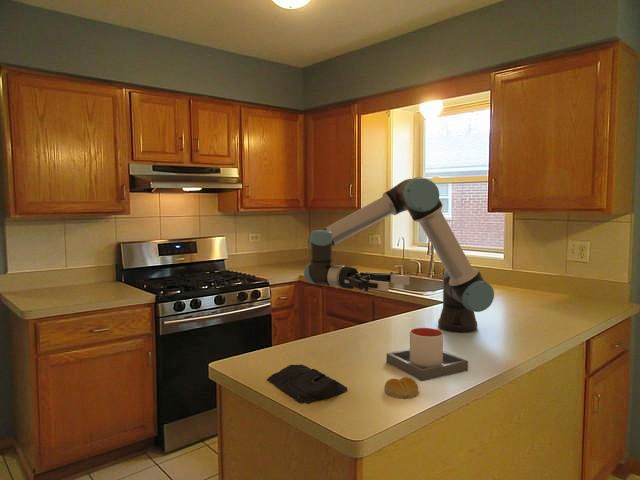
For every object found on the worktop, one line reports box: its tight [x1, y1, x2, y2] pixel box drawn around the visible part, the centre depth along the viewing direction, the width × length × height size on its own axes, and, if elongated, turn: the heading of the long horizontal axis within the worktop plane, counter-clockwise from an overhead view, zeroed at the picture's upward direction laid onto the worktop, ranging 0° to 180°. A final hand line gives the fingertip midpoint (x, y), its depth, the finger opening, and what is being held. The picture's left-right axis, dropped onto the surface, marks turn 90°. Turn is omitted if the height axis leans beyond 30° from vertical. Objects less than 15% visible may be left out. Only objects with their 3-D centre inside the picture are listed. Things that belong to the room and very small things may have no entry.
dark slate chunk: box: [266, 364, 348, 405], centre depth 132 cm, size 15×22×5 cm
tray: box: [385, 348, 469, 382], centre depth 146 cm, size 17×17×3 cm
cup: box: [409, 327, 444, 368], centre depth 146 cm, size 10×10×10 cm
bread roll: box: [383, 376, 420, 399], centre depth 127 cm, size 8×9×4 cm
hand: (398, 283), depth 150 cm, fingers open, 13 cm apart
